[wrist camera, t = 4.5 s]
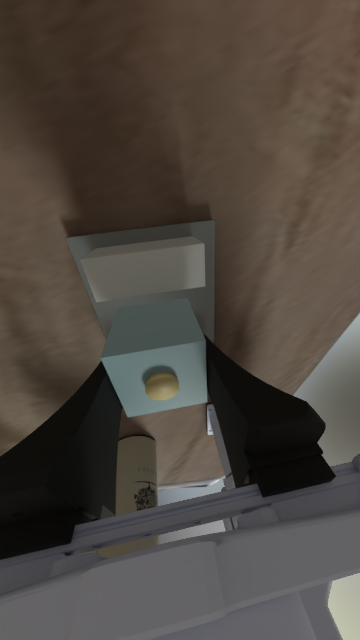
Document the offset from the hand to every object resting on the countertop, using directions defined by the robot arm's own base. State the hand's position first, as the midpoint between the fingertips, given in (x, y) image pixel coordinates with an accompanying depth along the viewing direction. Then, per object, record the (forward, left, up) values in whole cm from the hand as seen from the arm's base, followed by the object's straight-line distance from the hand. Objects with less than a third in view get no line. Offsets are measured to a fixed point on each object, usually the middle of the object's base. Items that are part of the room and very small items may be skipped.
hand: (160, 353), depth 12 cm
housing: (0, 0, -2) cm, 3 cm away
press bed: (-2, 0, -8) cm, 8 cm away
